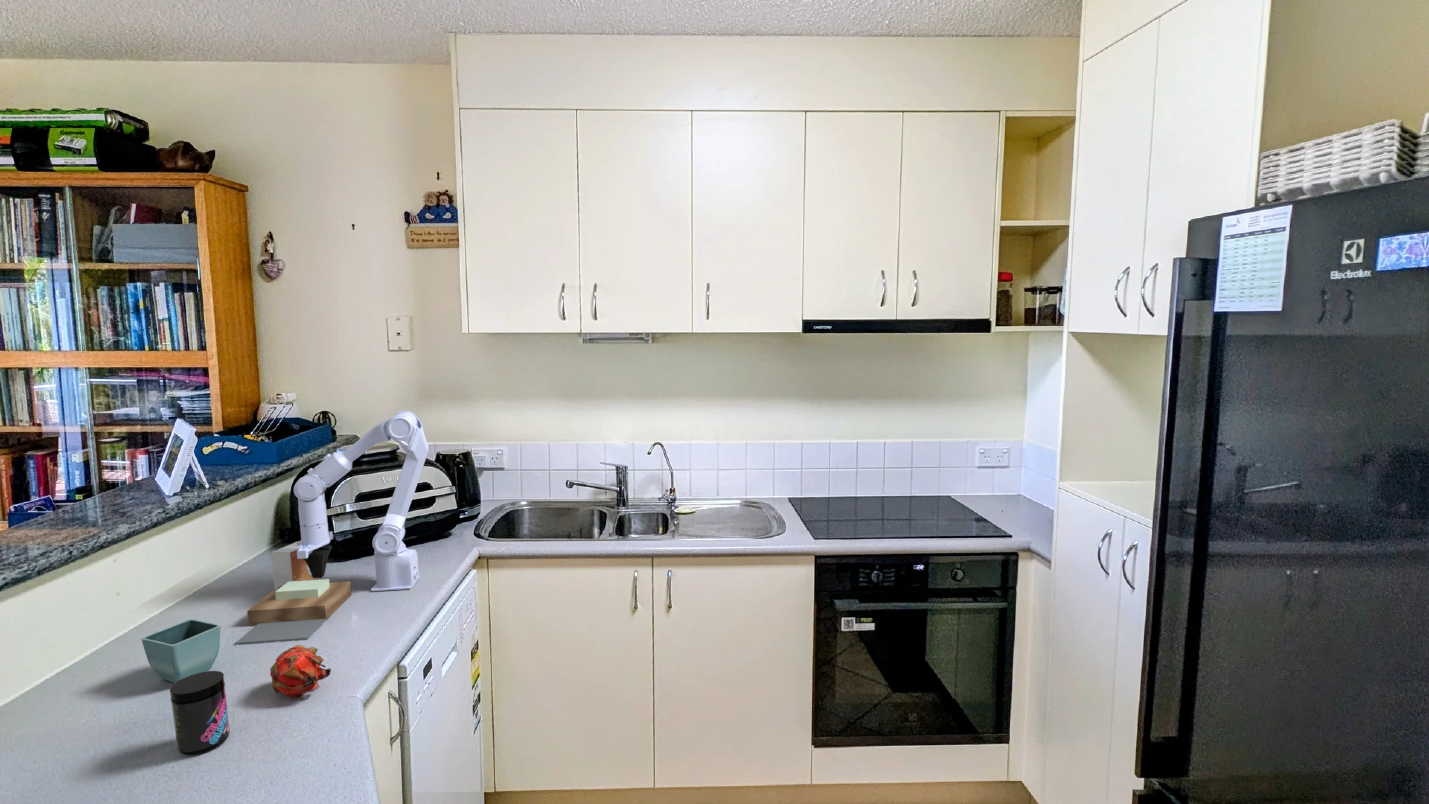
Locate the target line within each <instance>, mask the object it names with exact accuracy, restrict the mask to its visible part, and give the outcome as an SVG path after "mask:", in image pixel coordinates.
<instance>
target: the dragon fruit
mask: <svg viewBox="0 0 1429 804" xmlns="http://www.w3.org/2000/svg"><path fill="white" fill-rule="evenodd" d="M317 652H318V648H316V647H314V646H311V647H305V645H302V644H297V645H295V646H293V647H288V649H287V650H284V651H283V652H281V653H280V654H279V655H278V656H277V657H276V659H275V662H274V664H273V665H272V666H270V669H269V670H270V672H269V673H270V674H269V675H270V677H271V687H272V690H273V691H274V693H275V694H277V695H279V694H281V693H283V694H284V695H285V697H288V698H290V700H301V699H304V697H303V695H304V692H305V693H308V692H309V693H313V692H315V690H316V689H317V688H318V687H319V686H320V685H319V681H322V680H325V679H326V678H328V677H329V676H330V675H331V672H332V669H331V667H328V668H326V665H325V664H322V663H323V662H324V658H323V657H322V656H320V655H317ZM322 667H323V668H322ZM325 668H326V669H325Z"/></svg>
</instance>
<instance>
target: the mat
mask: <svg viewBox="0 0 1429 804" xmlns="http://www.w3.org/2000/svg"><path fill="white" fill-rule="evenodd" d="M326 621H327V620H326V619H316V620H302V621H287V622H273V623H259V624H257V625H255V626H253V627H252V628H251V629H250V630H249V631H247V632H246V633H245V634H243V636H242V637H240V638H239V639H238V640H237V641H236V642H235V643H234V645H235V646H237V645H236V644H239V645H246V644H247V645H250V644H253V645H254V644H263V643H264V642H267V643H274V641H280V642H293V641H292V640H294V641H303V640H306V639H307V640H309V639H308V638H311V637H312V636H313V635H314V634H315V633H316V632H317V631H318V629H320V627H322V626H323V624H324V623H326ZM313 633H314V634H313ZM311 635H312V636H311ZM310 636H311V637H310ZM307 640H306V641H307ZM264 644H265V643H264Z"/></svg>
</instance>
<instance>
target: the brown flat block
mask: <svg viewBox="0 0 1429 804" xmlns="http://www.w3.org/2000/svg"><path fill="white" fill-rule="evenodd" d="M351 585H352V584H351V581H348V580H347V581H332V582H329V586H330V587H329V588H328V589H327V590H326V591H325V592H324V593H323V594H322V595H320V596H319V597H318V598H303V599H288V600H276V595H275V592H276V591H277V590H278V589H280V588H281V587H282V586H279V587H277V588H276V589H275V588H274V590H272V591H271V592H270V593H268V594H267V595H265V596H264V597H263V598H262V599H261V600H259V601H258V602H257V603H255V604H254V605H253V606H251V607H250V608H249V609H248V610H247V611H246V612H247V622H248V626H249V627H255V626H256V625H257V624H259V623H273V622H287V621H302V620H316V619H326V621H328V620H329V618H331V616H332V615H334V613H336V611H338V610H339V608H340V607H341V606H342V605H343V604H344V603H345V602H347V601H348V599H349V598H351V596H352V587H351Z"/></svg>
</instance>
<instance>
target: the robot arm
mask: <svg viewBox="0 0 1429 804" xmlns="http://www.w3.org/2000/svg"><path fill="white" fill-rule="evenodd" d="M391 439H392V440H393V441H395V442H396V443H397V444H399V445H400V446H401V448H402V449H403V451H404V452H405V453H406V456H405V459H404V462H403V463H402V464H403V465H402V468H401V471H400V474H399V477H398V480H397V482H396V485H395V488H394V492H393V493H392V498H391V500H390V504H389V506H388V509H387V512H386V515H385V518H384V519H383V521H382V522H383V523H382V524H381V525H380V526H379V528H378V530H377V532H376V534H375V535H374V536H373V539H372V543H371V544H372V548H373V549H374V551H373V553H374V554H373V555H374V565H375V579H376V583H375V584H374V586H372V587H371V589H370V592H382V591H383V592H384V591H398V590H411V589H412V588H413V586H414V585H416V583H417V581H418V580H419V579H420V577H421V575H420V573H419V561H418V560H419V557H418V552H417V550H416V549H412V548H411V549H410V548H407V546H406V544H405V543H404V541H403V539H404V538H405V535H406V529H405V523H406V519H407V515H408V512H409V509H410V507H411V504H412V501H413V498H414V496H415V495H414V494H415V492H416V489H417V486H418V483H419V479H420V477H421V474H422V471H423V467H424V465H425V462H426V459H427V457H428V453H429V449H430V448H429V445H428V441H427V439H426V435H425V431H424V426H423V424H422V422H421V420H420V419H419V418H418V417H417V416H416V414H415V413H414V412H411V411H409V410H400V411H398V412H396V413H395V414H393V416H392V417H388V418H387V419H384V420H383V421H381V422H380V423H378V424H376V425H374V427H372V428H371V429H370V430H368V432H366V433H365V434H364V435H363V436H361V437H360V438H359V439H358V440H356V442H354V443H353V444H352V445H351V446H349V447H348V448H347V449H346V450H344V451H343V452H341V451H340V452H339V451H335V452H333V453H331V454H330V453H328V454H326V455H325V456H323V459H324V460H322V462H320V463H318V464H317V465H316V466H314V468H312V467H311V468H309V469H308V470H307V474H305V475H304V476H302V477H300V478H299V479H298V480H297V481H296V483H295V484H294V486H293V493H294V496H295V497H296V498H297V501H298V502H297V503H298V518H299V526H300V528H299V531H300V538H301V539H300V540H298V541H296V542H297V546H300V548H299V550H298V551H297V559H304V560H305V562H306V563H307V565H308V567H309V569H310V572H311V574H312V577H313V578H317V579H323V578H324V576H325V575H326V574H325V573H326V568H327V563H328V559H329V556H330V553H331V551H332V548H333V546H332V545H331V544H330V542H331V540H333V539H334V534H333V533H334V531H333V530H332V531H331V530H330V531H329V523H328V514H327V513H328V512H327V503H326V499H325V498H326V497H325V491H326V490H327V488H330V487H331V486H333V485H334V484H335V483H336V482H338V481H339V480H340V479H342V478H343V477H344V476H346V475H347V474H348V473H349V472H351V470H353V462H354V461H355V460H356V459H358V458H360V457H361V456H362V455H364V453H366V452H367V451H369V450H371V449H372V447H374V446H375V445H376V444H378V443H385V442H389V441H390V440H391Z"/></svg>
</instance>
